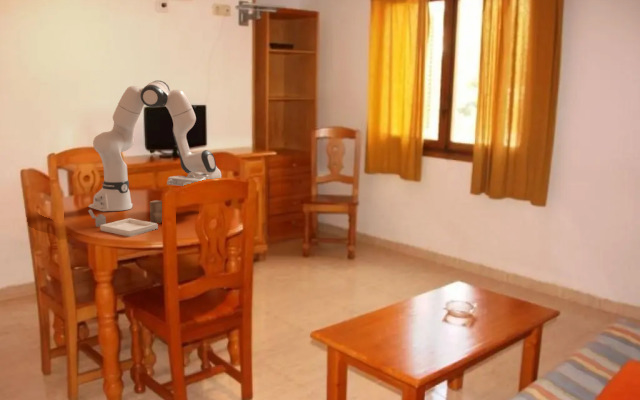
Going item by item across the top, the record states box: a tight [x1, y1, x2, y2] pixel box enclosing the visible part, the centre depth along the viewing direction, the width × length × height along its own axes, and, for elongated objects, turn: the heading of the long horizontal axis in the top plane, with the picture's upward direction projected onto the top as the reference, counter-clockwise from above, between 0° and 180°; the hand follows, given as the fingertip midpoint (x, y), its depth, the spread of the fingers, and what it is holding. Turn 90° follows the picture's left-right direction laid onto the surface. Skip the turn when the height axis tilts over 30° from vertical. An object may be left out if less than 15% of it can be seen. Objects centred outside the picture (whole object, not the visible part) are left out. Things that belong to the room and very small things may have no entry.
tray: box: [99, 217, 159, 238], centre depth 261 cm, size 18×16×2 cm
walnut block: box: [149, 199, 163, 224], centre depth 273 cm, size 4×4×10 cm
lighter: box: [87, 208, 107, 228], centre depth 265 cm, size 7×2×8 cm, turn 122°
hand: (175, 184), depth 281 cm, fingers open, 8 cm apart
